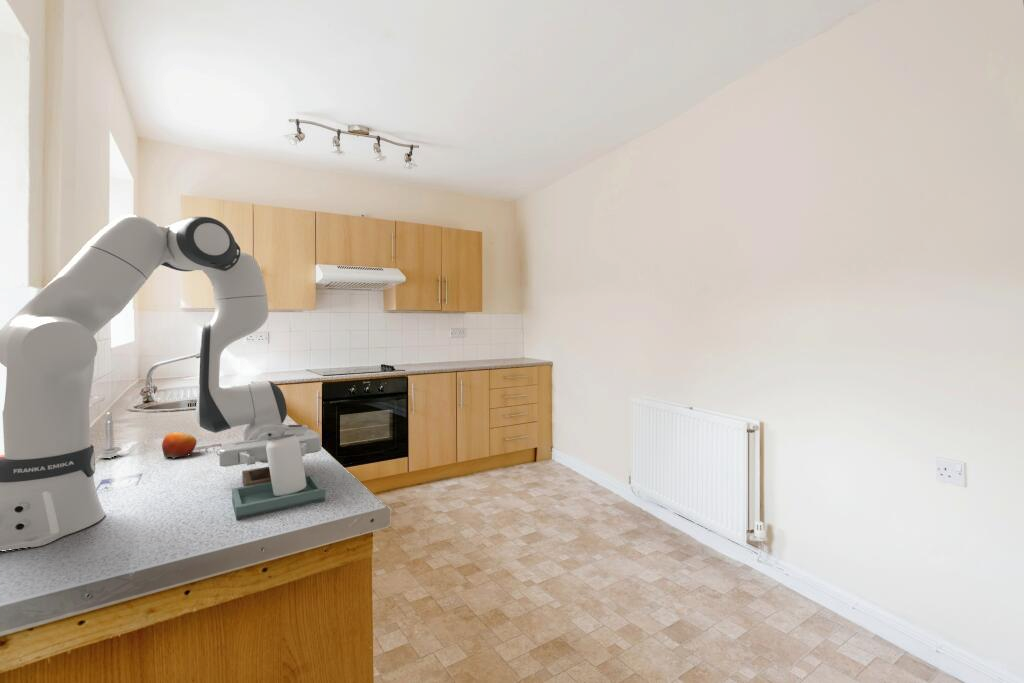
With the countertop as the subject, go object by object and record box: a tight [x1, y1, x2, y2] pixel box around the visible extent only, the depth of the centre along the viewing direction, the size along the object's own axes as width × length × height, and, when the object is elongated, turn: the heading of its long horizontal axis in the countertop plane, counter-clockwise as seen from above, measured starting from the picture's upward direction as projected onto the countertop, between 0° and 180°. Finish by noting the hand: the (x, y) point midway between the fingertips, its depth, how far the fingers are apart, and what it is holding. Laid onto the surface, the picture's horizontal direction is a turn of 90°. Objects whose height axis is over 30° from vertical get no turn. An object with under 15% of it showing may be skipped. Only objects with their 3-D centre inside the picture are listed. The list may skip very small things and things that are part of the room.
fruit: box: [161, 431, 197, 460], centre depth 128 cm, size 8×8×8 cm
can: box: [266, 434, 307, 497], centre depth 97 cm, size 6×6×12 cm
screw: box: [98, 411, 122, 458], centre depth 127 cm, size 13×5×5 cm
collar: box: [241, 466, 271, 487], centre depth 106 cm, size 10×10×2 cm
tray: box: [231, 473, 326, 521], centre depth 95 cm, size 16×12×2 cm
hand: (276, 456), depth 95 cm, fingers open, 8 cm apart
